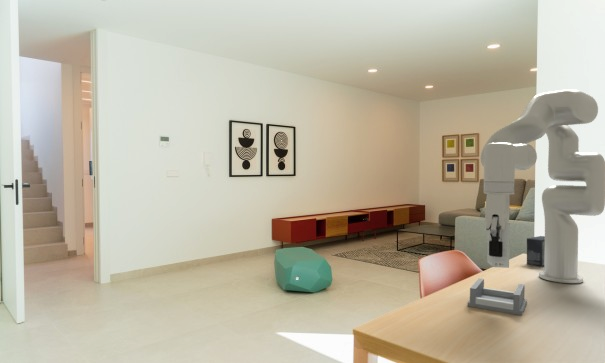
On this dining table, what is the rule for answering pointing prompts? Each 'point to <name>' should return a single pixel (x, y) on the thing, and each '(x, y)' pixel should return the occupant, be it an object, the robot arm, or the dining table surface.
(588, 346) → the dining table surface
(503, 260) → the skincare box
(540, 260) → the small box
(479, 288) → the rest
